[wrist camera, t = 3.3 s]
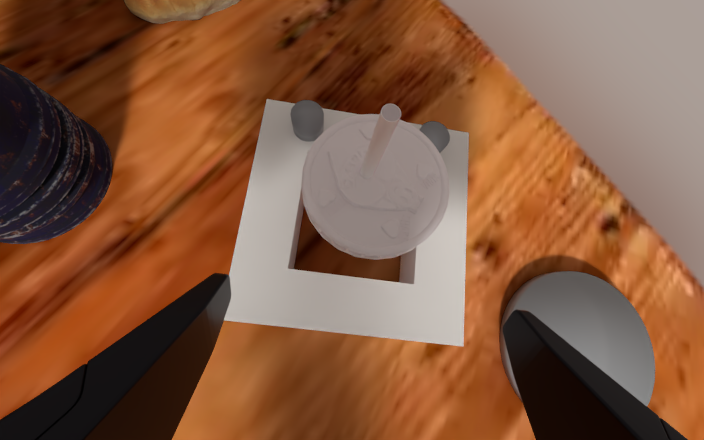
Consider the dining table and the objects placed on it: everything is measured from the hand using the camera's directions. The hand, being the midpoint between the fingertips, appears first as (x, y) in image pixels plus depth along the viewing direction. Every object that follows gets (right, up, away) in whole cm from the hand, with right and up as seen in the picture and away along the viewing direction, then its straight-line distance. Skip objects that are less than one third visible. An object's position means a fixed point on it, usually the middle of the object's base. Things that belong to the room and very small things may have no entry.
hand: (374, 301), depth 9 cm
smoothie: (-1, +2, +13) cm, 13 cm away
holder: (-1, +2, +12) cm, 12 cm away
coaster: (+15, -7, +12) cm, 21 cm away
